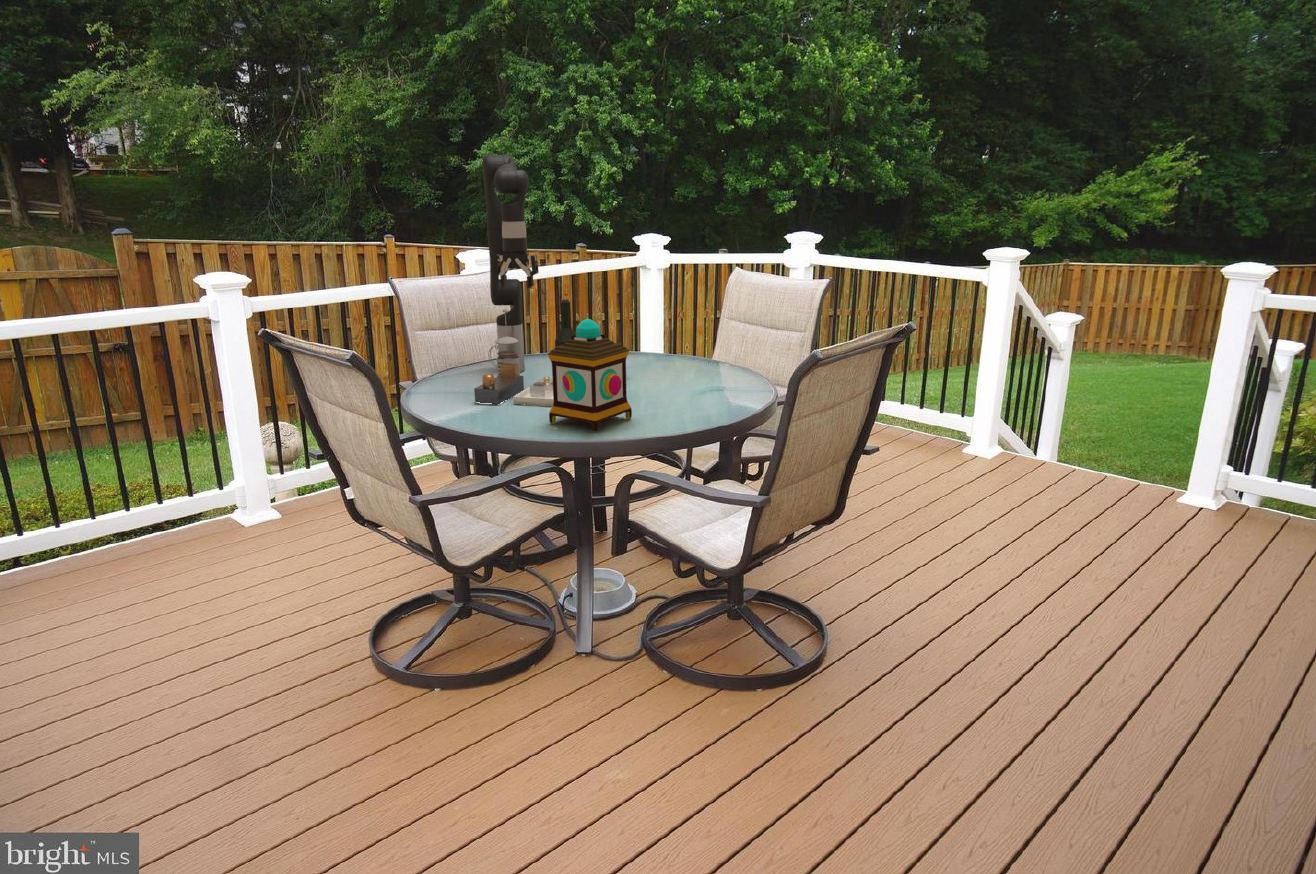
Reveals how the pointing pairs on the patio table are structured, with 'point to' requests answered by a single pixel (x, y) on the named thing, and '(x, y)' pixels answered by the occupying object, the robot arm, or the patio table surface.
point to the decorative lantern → (589, 377)
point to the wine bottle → (565, 324)
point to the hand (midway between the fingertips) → (517, 287)
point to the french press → (507, 353)
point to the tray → (531, 399)
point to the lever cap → (542, 388)
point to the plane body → (500, 385)
